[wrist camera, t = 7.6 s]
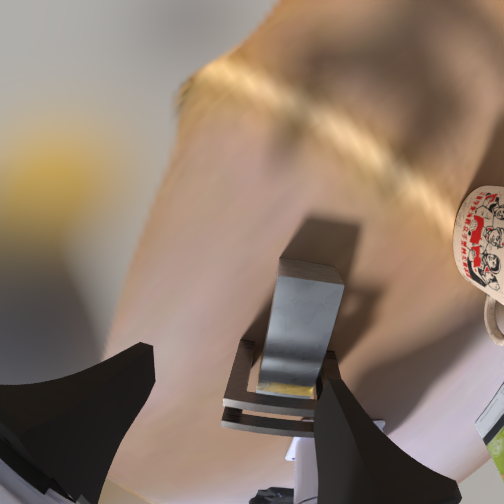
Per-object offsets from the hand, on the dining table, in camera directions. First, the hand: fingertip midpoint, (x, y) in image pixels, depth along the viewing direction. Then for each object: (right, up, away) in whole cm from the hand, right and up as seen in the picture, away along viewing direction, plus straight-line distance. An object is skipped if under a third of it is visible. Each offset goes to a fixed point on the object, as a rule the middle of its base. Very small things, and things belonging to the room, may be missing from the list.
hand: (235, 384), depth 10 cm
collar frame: (+3, -4, +11) cm, 12 cm away
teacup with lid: (+21, +5, +7) cm, 23 cm away
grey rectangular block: (+4, -1, +11) cm, 12 cm away
